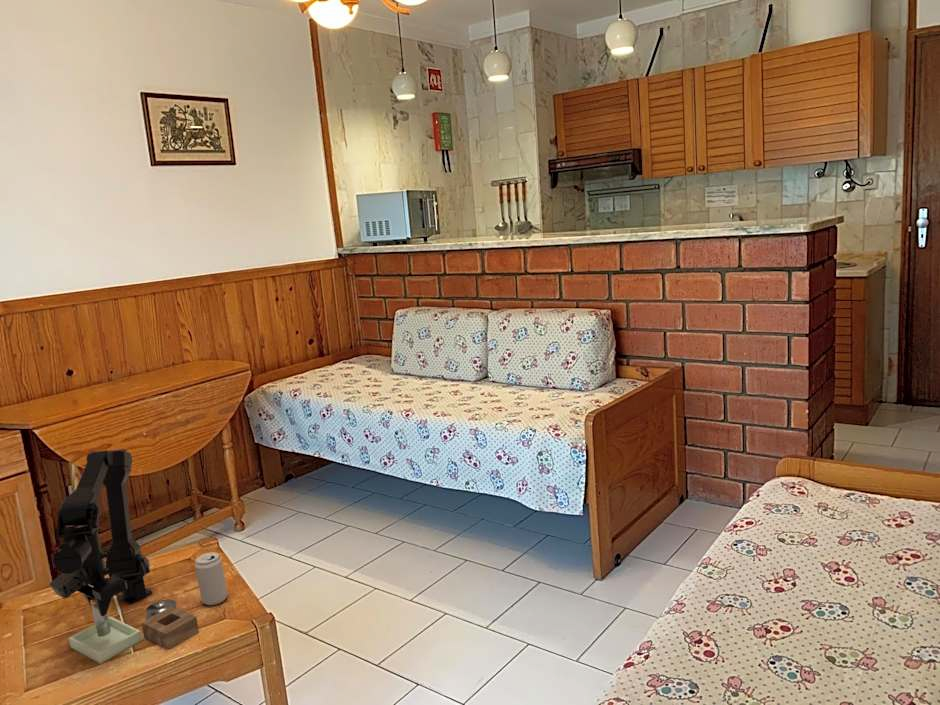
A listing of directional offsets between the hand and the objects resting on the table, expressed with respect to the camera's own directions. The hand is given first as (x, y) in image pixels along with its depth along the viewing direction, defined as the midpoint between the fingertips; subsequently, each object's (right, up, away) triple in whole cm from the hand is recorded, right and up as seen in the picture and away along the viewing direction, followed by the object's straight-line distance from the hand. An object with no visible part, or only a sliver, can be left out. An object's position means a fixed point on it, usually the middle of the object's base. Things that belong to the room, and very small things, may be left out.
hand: (100, 613), depth 173 cm
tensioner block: (+15, -6, +3) cm, 17 cm away
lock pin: (0, -5, +1) cm, 5 cm away
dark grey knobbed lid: (+10, -5, +12) cm, 16 cm away
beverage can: (+21, -3, +17) cm, 27 cm away
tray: (+1, -8, +2) cm, 8 cm away
